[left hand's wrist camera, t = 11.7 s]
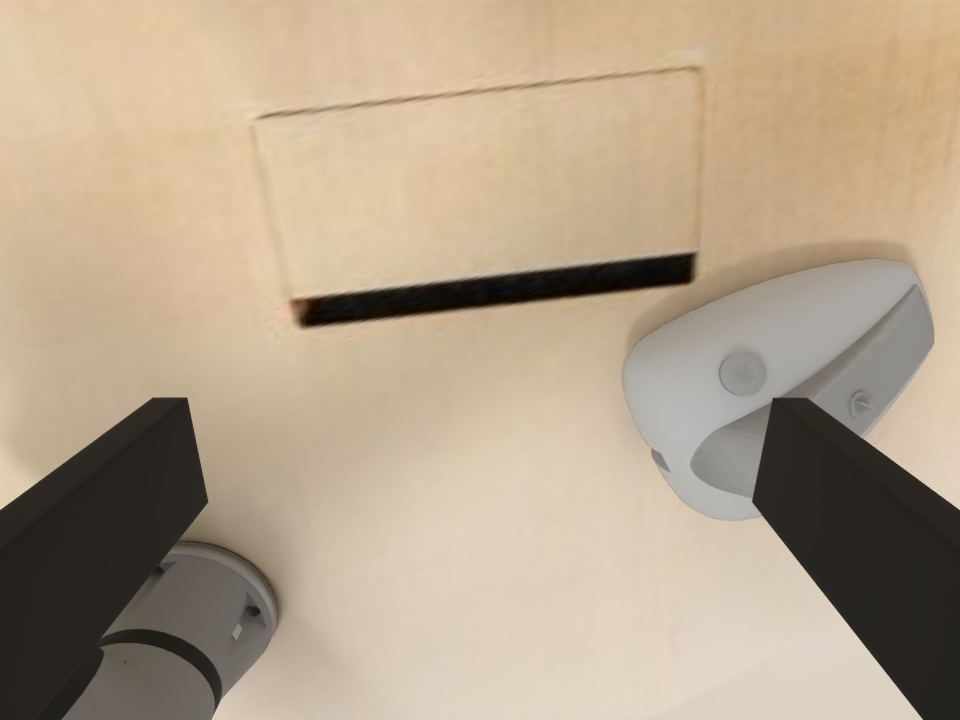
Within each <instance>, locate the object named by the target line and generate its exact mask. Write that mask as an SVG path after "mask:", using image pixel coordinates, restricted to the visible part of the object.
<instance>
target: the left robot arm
mask: <svg viewBox="0 0 960 720" xmlns="http://www.w3.org/2000/svg"><path fill="white" fill-rule="evenodd" d="M207 503H208V498H207V493H206V488H205V483H204V479H203V474H202V469H201V464H200V459H199V454H198V449H197V444H196V439H195V434H194V429H193V424H192V419H191V414H190V409H189V404H188V399H187V398H152V399H151V400H149V401H148V402H146V403H145V404H144V405H142V406H141V407H140V408H138V409H137V410H136V411H134V412H133V413H132V414H130V415H129V416H127V417H126V418H125V419H123V420H122V421H121V422H119V423H118V424H117V425H115V426H114V427H113V428H111V429H110V430H108V431H107V432H106V433H104V434H103V435H102V436H100V437H99V438H98V439H96V440H95V441H94V442H92V443H91V444H89V445H88V446H87V447H85V448H84V449H83V450H81V451H80V452H79V453H77V454H76V455H75V456H73V457H72V458H70V459H69V460H68V461H66V462H65V463H64V464H62V465H61V466H60V467H58V468H57V469H56V470H54V471H53V472H51V473H50V474H49V475H47V476H46V477H45V478H43V479H42V480H41V481H39V482H38V483H36V484H35V485H34V486H32V487H31V488H30V489H28V490H27V491H26V492H24V493H23V494H22V495H20V496H19V497H17V498H16V499H15V500H13V501H12V502H11V503H9V504H8V505H7V506H5V507H4V508H3V509H1V510H0V720H212V717H213V715H214V713H215V711H216V709H217V707H218V705H219V703H220V701H221V699H222V698H223V697H224V695H225V694H226V693H227V692H228V691H229V690H230V689H231V688H232V687H233V686H234V685H235V684H236V682H237V681H238V680H239V679H240V678H241V677H242V676H243V675H244V674H245V673H246V672H247V671H248V669H249V668H250V667H251V666H252V665H253V664H254V663H255V662H256V661H257V660H258V658H259V657H260V656H261V655H262V654H263V652H264V651H265V649H266V648H267V646H268V644H269V642H270V639H271V637H272V635H273V632H274V630H275V627H276V624H277V619H278V607H277V601H276V598H275V595H274V593H273V590H272V588H271V587H270V585H269V583H268V582H267V580H266V579H265V578H264V577H263V575H262V574H261V573H260V572H259V571H258V570H257V569H256V568H255V567H254V566H252V565H251V564H250V563H249V562H247V561H246V560H244V559H243V558H241V557H240V556H238V555H236V554H234V553H232V552H230V551H228V550H225V549H223V548H220V547H217V546H213V545H209V544H204V543H197V542H177V541H178V540H179V539H180V537H181V536H182V535H183V533H184V532H185V531H186V530H187V528H188V527H189V526H190V525H191V523H192V522H193V521H194V519H195V518H196V517H197V516H198V514H199V513H200V512H201V511H202V509H203V508H204V507H205V506H206V504H207ZM752 503H753V504H754V506H755V507H756V508H757V509H758V511H759V512H760V513H761V514H762V516H763V517H764V518H765V519H766V521H767V522H768V523H769V525H770V526H771V527H772V528H773V530H774V531H775V532H776V533H777V535H778V536H779V537H780V539H781V540H782V541H783V542H784V544H785V545H786V546H787V547H788V549H789V550H790V551H791V553H792V554H793V555H794V556H795V558H796V559H797V560H798V561H799V563H800V564H801V565H802V566H803V568H804V569H805V570H806V572H807V573H808V574H809V575H810V577H811V578H812V579H813V580H814V582H815V583H816V584H817V586H818V587H819V588H820V589H821V591H822V592H823V593H824V594H825V596H826V597H827V598H828V600H829V601H830V602H831V603H832V605H833V606H834V607H835V608H836V610H837V611H838V612H839V613H840V615H841V616H842V617H843V619H844V620H845V621H846V622H847V624H848V625H849V626H850V627H851V629H852V630H853V631H854V633H855V634H856V635H857V636H858V638H859V639H860V640H861V641H862V643H863V644H864V645H865V646H866V648H867V649H868V650H869V652H870V653H871V654H872V655H873V657H874V658H875V659H876V660H877V662H878V663H879V664H880V666H881V667H882V668H883V669H884V671H885V672H886V673H887V674H888V676H889V677H890V678H891V680H892V681H893V682H894V683H895V685H896V686H897V687H898V688H899V690H900V691H901V692H902V694H903V695H904V696H905V697H906V699H907V700H908V701H909V702H910V704H911V705H912V706H913V707H914V709H915V710H916V711H917V713H918V714H919V715H920V716H921V718H922V719H923V720H960V510H959V509H957V508H956V507H955V506H953V505H952V504H951V503H949V502H948V501H947V500H945V499H944V498H943V497H941V496H940V495H938V494H937V493H936V492H934V491H933V490H932V489H930V488H929V487H928V486H926V485H925V484H924V483H922V482H921V481H919V480H918V479H917V478H915V477H914V476H913V475H911V474H910V473H909V472H907V471H906V470H904V469H903V468H902V467H900V466H899V465H898V464H896V463H895V462H894V461H892V460H891V459H890V458H888V457H887V456H885V455H884V454H883V453H881V452H880V451H879V450H877V449H876V448H875V447H873V446H872V445H871V444H869V443H868V442H866V441H865V440H864V439H862V438H861V437H860V436H858V435H857V434H856V433H854V432H853V431H852V430H850V429H849V428H847V427H846V426H845V425H843V424H842V423H841V422H839V421H838V420H837V419H835V418H834V417H833V416H831V415H830V414H828V413H827V412H826V411H824V410H823V409H822V408H820V407H819V406H818V405H816V404H815V403H814V402H812V401H811V400H809V399H808V398H773V399H772V404H771V409H770V414H769V419H768V424H767V429H766V434H765V439H764V444H763V449H762V454H761V459H760V464H759V469H758V474H757V479H756V483H755V488H754V493H753V498H752Z"/></svg>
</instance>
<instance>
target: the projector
mask: <svg viewBox="0 0 960 720" xmlns="http://www.w3.org/2000/svg"><path fill="white" fill-rule="evenodd" d="M933 344H934V325H933V318H932V315H931V311H930V307H929V303H928V300H927V297H926V294H925V291H924V288H923V285H922V283H921V281H920V279H919V277H918V275H917V273H916V272H915V271H914V270H913V268H912V267H910V266H909V265H907V264H904V263H901V262H898V261H894V260H889V259H864V260H855V261H848V262H841V263H835V264H830V265H825V266H820V267H815V268H810V269H806V270H802V271H798V272H795V273H791V274H787V275H784V276H780V277H777V278H773V279H770V280H767V281H764V282H761V283H758V284H756V285H753V286H750V287H747V288H744V289H742V290H739V291H736V292H734V293H732V294H729V295H727V296H724V297H722V298H719V299H717V300H715V301H712V302H710V303H708V304H706V305H703V306H701V307H699V308H697V309H695V310H693V311H691V312H688V313H686V314H684V315H682V316H680V317H678V318H676V319H674V320H673V321H671V322H669V323H667V324H665V325H663V326H662V327H660V328H658V329H657V330H655V331H653V332H652V333H650V334H649V335H647V336H646V337H644V338H643V339H642V340H640V341H639V342H638V343H637V344H636V345H635V346H633V348H632V349H631V350H630V351H629V352H628V354H627V356H626V358H625V360H624V363H623V368H622V385H623V390H624V394H625V398H626V401H627V404H628V407H629V410H630V412H631V415H632V417H633V420H634V422H635V424H636V426H637V428H638V430H639V432H640V434H641V436H642V438H643V440H644V442H645V443H646V444H647V445H648V446H649V447H650V448H651V454H652V457H653V459H654V461H655V463H656V465H657V467H658V469H659V470H660V472H661V474H662V475H663V477H664V479H665V480H666V482H667V483H668V485H669V486H670V487H671V489H672V490H673V491H674V492H675V494H676V495H677V496H678V497H679V498H680V499H681V500H682V501H683V502H684V503H685V504H686V505H688V506H689V507H690V508H692V509H694V510H695V511H697V512H699V513H701V514H703V515H705V516H708V517H710V518H714V519H718V520H725V521H739V520H747V519H751V518H756V517H759V516H762V514H761V513H760V512H759V511H758V509H757V508H756V507H755V506H754V504H753V503H752V498H753V493H754V488H755V483H756V479H757V474H758V469H759V464H760V459H761V454H762V449H763V444H764V439H765V434H766V429H767V424H768V419H769V414H770V409H771V404H772V399H773V398H808V399H809V400H811V401H812V402H814V403H815V404H816V405H818V406H819V407H820V408H822V409H823V410H824V411H826V412H827V413H828V414H830V415H831V416H833V417H834V418H835V419H837V420H838V421H839V422H841V423H842V424H843V425H845V426H846V427H847V428H849V429H850V430H852V431H853V432H854V433H856V434H857V435H858V436H860V437H861V438H862V439H864V438H865V437H866V436H867V435H868V434H869V432H870V431H871V430H872V429H873V428H874V426H875V425H876V424H877V423H878V422H879V420H880V419H881V418H882V417H883V416H884V415H885V413H886V412H887V411H888V410H889V408H890V407H891V406H892V404H893V403H894V402H895V401H896V399H897V398H898V397H899V395H900V394H901V393H902V391H903V390H904V389H905V388H906V386H907V385H908V383H909V382H910V381H911V379H912V378H913V376H914V375H915V373H916V372H917V371H918V369H919V368H920V366H921V365H922V363H923V362H924V360H925V358H926V357H927V355H928V353H929V351H930V349H931V348H932V346H933Z"/></svg>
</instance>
